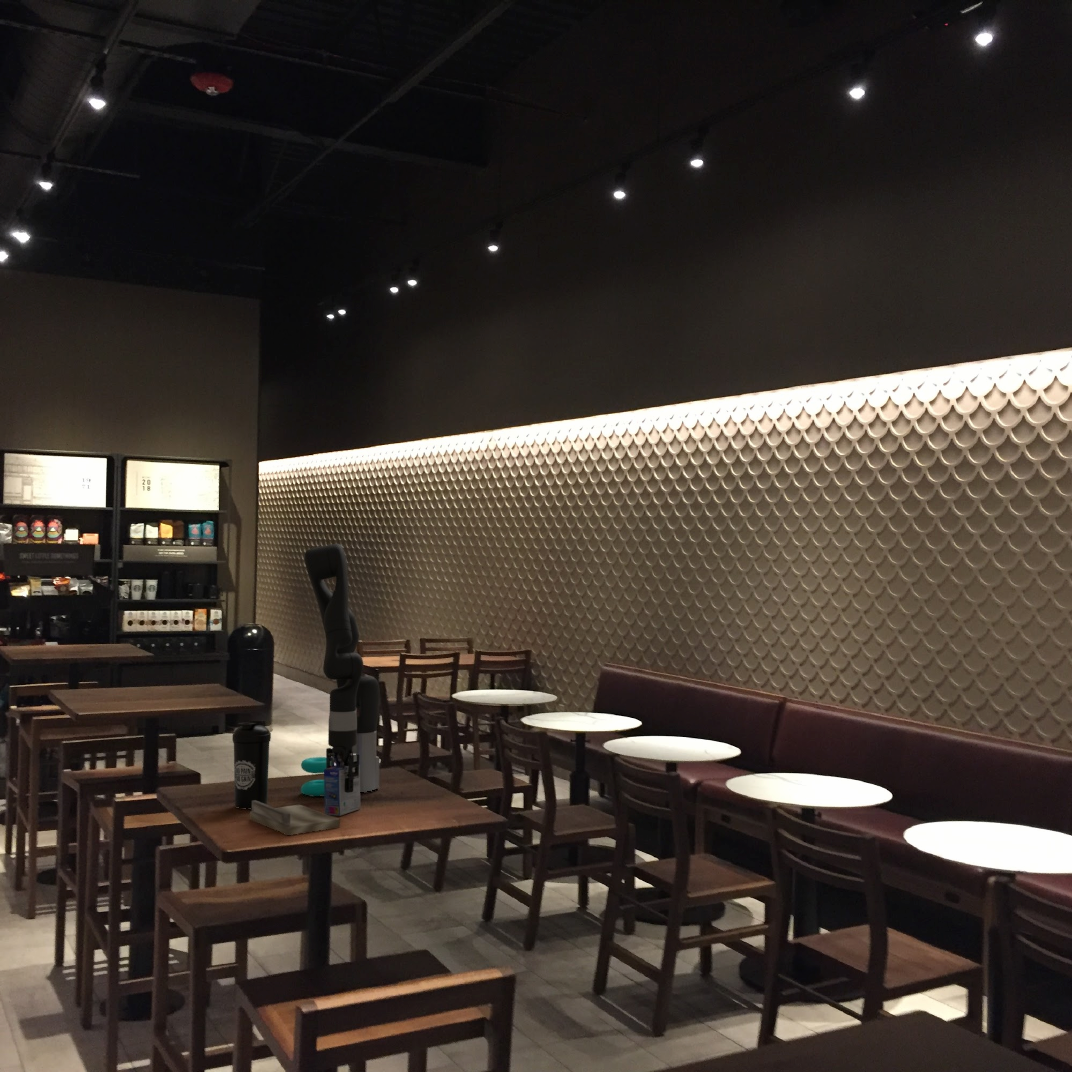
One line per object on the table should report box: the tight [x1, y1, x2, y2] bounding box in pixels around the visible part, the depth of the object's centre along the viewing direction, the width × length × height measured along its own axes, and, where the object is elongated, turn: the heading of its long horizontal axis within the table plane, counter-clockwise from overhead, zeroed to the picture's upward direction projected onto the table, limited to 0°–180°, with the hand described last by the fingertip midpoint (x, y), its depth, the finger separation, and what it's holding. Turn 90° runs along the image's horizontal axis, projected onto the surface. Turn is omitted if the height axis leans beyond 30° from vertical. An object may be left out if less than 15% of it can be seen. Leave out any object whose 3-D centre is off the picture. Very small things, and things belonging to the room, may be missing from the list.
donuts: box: [300, 756, 331, 796], centre depth 309 cm, size 10×10×10 cm
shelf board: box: [249, 800, 341, 836], centre depth 273 cm, size 14×22×5 cm, turn 39°
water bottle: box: [231, 719, 272, 810], centre depth 293 cm, size 10×10×23 cm
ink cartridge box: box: [323, 758, 361, 817], centre depth 286 cm, size 10×6×14 cm, turn 155°
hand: (342, 789), depth 286 cm, fingers closed on ink cartridge box, 7 cm apart
